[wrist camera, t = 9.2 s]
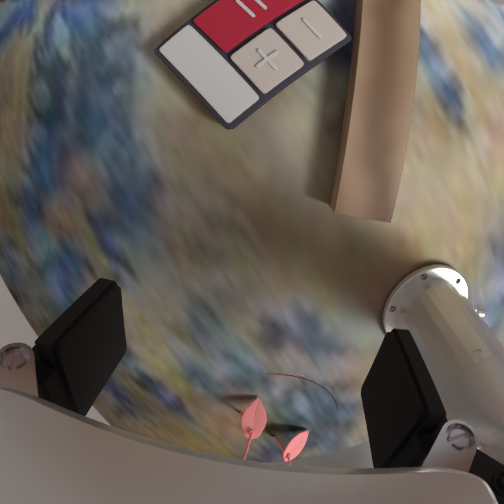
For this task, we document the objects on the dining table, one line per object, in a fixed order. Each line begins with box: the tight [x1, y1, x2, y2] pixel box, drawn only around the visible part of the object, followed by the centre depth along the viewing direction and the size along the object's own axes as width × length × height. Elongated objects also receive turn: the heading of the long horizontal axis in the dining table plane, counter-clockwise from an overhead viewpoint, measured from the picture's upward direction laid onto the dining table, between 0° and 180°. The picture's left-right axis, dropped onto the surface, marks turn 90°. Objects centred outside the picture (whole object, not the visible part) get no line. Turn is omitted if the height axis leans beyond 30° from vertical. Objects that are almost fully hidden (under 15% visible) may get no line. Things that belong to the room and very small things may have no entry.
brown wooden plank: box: [329, 0, 421, 223], centre depth 25 cm, size 6×32×3 cm, turn 174°
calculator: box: [155, 0, 351, 129], centre depth 25 cm, size 11×4×15 cm
